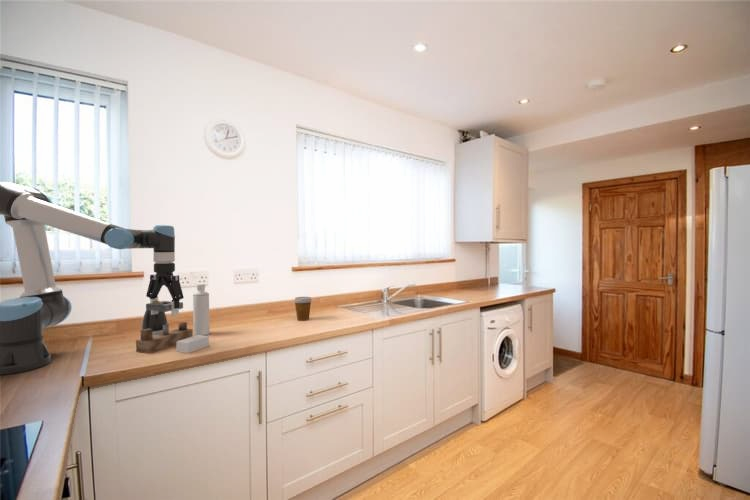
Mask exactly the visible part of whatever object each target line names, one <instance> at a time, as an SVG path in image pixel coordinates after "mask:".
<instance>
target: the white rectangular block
mask: <svg viewBox="0 0 750 500" xmlns="http://www.w3.org/2000/svg"><path fill="white" fill-rule="evenodd" d="M175 346H176V352H177V353H184V354H190V353H193V352H195V351H199V350H202V349H203V348H207V347H209V346H210V336H209V335H196V336H194V335H193V337H189V338H186V339H183V340H180V341H176V345H175Z"/></svg>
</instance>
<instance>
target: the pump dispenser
mask: <svg viewBox="0 0 750 500" xmlns="http://www.w3.org/2000/svg"><path fill="white" fill-rule="evenodd" d="M168 322H169V321H168V317H167V314H166V312H162V311H158V314H154V315H151V310H146V309H145V312H144V314H143V317H142V322H141V330H144V329H148V328H149V329H152V335H157V334H160V333H163V325H165V324H169V323H168ZM141 330H140V331H141Z"/></svg>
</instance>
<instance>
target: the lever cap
mask: <svg viewBox="0 0 750 500" xmlns="http://www.w3.org/2000/svg"><path fill="white" fill-rule="evenodd" d="M171 301H172V300H171ZM171 301H169V300H162V301H160V300H158V301H153V303H146V304H145V311H146V310H152V311H162V312H165V313H166V312H171ZM183 308H184V302H183V301H182V302H181V301H179V310H181V309H183Z"/></svg>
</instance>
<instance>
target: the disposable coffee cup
mask: <svg viewBox="0 0 750 500" xmlns="http://www.w3.org/2000/svg"><path fill="white" fill-rule="evenodd" d="M293 302H294V304H295V311H296V312H295V313H296V320H297V321H299V322H301V321H302V322H304V321H309V320H310V314H311V312H310V311H311V304H312V297H311V296H298V297H294V300H293Z"/></svg>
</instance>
